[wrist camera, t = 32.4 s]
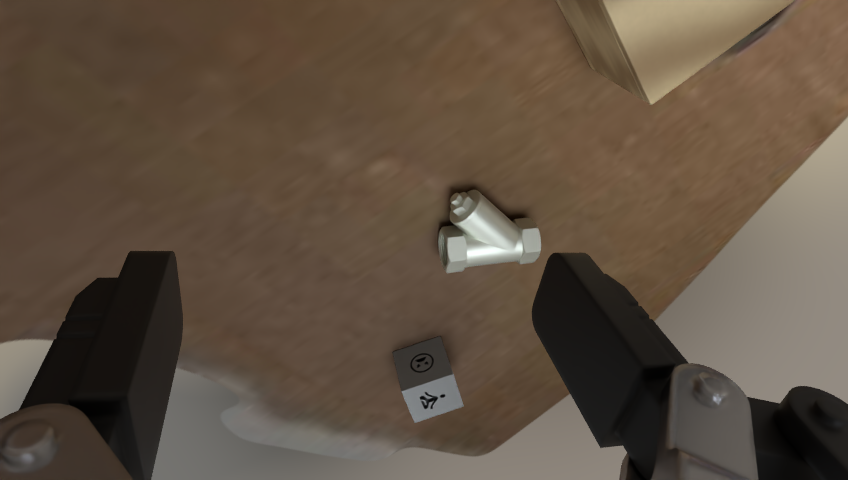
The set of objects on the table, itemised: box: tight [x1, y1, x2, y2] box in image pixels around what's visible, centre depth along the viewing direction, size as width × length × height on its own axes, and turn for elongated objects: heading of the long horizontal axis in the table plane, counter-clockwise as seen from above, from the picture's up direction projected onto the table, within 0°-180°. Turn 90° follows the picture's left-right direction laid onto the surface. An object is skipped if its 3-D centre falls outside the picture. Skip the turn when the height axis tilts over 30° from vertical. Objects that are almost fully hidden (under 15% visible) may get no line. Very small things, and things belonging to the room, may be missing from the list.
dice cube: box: [393, 336, 463, 423], centre depth 52 cm, size 5×5×5 cm
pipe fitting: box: [438, 190, 541, 273], centre depth 44 cm, size 8×4×7 cm
